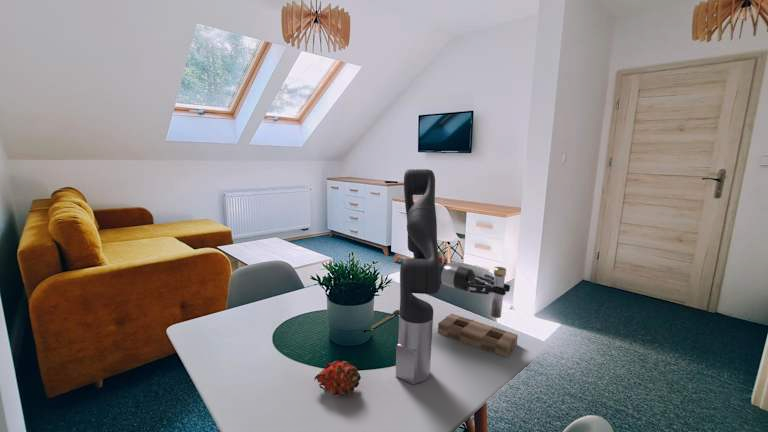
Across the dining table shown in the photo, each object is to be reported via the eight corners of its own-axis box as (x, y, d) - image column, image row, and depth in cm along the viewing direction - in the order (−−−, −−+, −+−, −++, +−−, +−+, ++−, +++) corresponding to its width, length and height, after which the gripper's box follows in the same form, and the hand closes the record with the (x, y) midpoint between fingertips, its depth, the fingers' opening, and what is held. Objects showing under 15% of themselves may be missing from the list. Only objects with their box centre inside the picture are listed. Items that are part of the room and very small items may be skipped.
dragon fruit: (363, 399, 90) (318, 402, 91) (364, 366, 96) (321, 369, 97) (357, 388, 84) (308, 391, 85) (358, 353, 90) (313, 356, 91)
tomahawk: (374, 340, 118) (374, 337, 118) (360, 332, 122) (360, 329, 122) (410, 318, 134) (410, 315, 134) (396, 311, 138) (396, 308, 138)
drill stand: (506, 357, 108) (507, 347, 107) (437, 332, 122) (438, 323, 122) (516, 344, 116) (517, 334, 115) (450, 322, 130) (451, 313, 129)
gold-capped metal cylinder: (499, 319, 111) (503, 271, 108) (488, 315, 113) (492, 268, 111) (503, 315, 114) (507, 268, 111) (492, 312, 116) (496, 266, 113)
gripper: (448, 272, 114) (500, 285, 104) (466, 262, 125) (515, 273, 115) (447, 293, 116) (498, 308, 106) (465, 282, 127) (513, 294, 117)
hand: (507, 290), depth 110 cm, fingers closed on gold-capped metal cylinder, 3 cm apart
